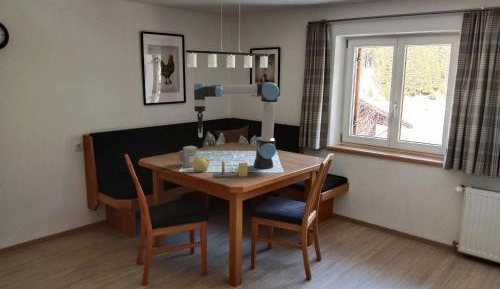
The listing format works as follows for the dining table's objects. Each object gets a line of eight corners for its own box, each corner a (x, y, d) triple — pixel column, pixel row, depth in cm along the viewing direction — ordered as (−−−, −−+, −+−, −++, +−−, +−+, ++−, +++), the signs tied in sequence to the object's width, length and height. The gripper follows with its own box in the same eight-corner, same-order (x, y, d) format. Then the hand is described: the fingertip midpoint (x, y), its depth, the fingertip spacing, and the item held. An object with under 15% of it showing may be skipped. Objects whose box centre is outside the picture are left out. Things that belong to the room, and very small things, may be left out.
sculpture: (211, 169, 286) (211, 155, 284) (203, 173, 276) (203, 159, 273) (198, 168, 291) (197, 154, 289) (189, 172, 280) (189, 157, 278)
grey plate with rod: (231, 173, 277) (231, 160, 275) (232, 177, 267) (232, 163, 265) (214, 173, 276) (214, 160, 273) (214, 177, 266) (214, 163, 264)
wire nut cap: (246, 173, 276) (246, 162, 274) (247, 176, 270) (247, 164, 269) (238, 174, 276) (238, 162, 274) (239, 176, 270) (239, 164, 268)
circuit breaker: (185, 163, 305) (184, 144, 302) (197, 166, 296) (197, 147, 293) (178, 164, 299) (177, 146, 296) (190, 168, 290) (189, 148, 287)
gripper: (194, 103, 279) (195, 132, 284) (193, 107, 255) (194, 139, 259) (205, 103, 280) (205, 132, 285) (205, 107, 256) (205, 138, 260)
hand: (200, 135), depth 272 cm, fingers open, 13 cm apart
